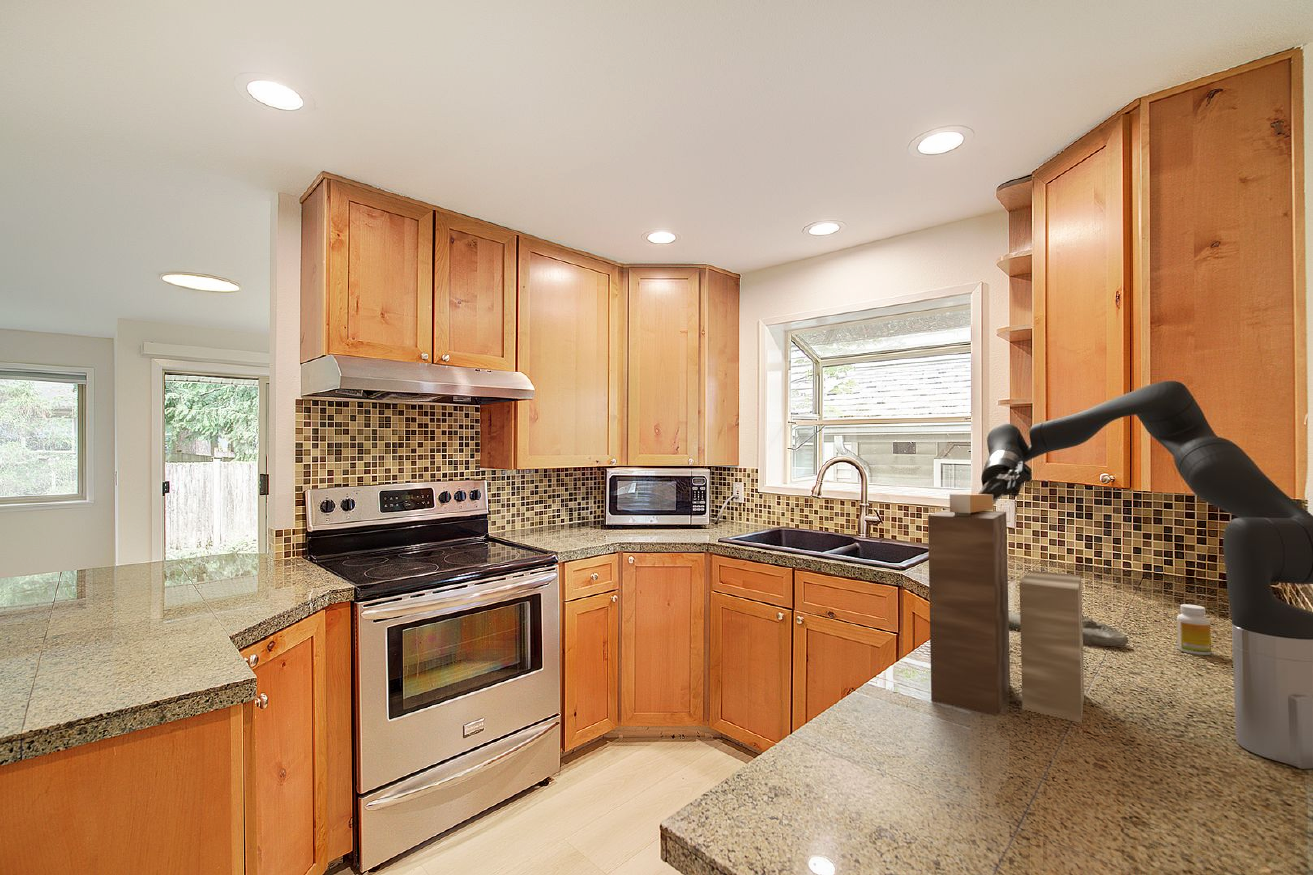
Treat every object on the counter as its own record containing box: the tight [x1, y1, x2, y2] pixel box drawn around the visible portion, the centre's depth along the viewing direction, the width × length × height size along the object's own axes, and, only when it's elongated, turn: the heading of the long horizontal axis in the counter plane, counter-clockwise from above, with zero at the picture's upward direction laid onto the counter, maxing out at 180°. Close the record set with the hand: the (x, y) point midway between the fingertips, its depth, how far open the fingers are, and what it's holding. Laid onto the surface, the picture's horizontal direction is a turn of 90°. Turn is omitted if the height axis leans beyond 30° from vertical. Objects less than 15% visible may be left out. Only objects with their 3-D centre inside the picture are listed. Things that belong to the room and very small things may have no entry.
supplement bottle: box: [1176, 603, 1212, 656], centre depth 127 cm, size 5×5×10 cm
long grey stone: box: [1009, 610, 1129, 648], centre depth 143 cm, size 35×5×10 cm
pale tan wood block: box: [949, 493, 994, 513], centre depth 110 cm, size 26×3×3 cm, turn 142°
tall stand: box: [927, 508, 1011, 716], centre depth 106 cm, size 16×10×33 cm, turn 143°
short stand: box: [1019, 569, 1085, 724], centre depth 102 cm, size 14×8×21 cm, turn 143°
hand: (994, 504), depth 119 cm, fingers open, 8 cm apart
